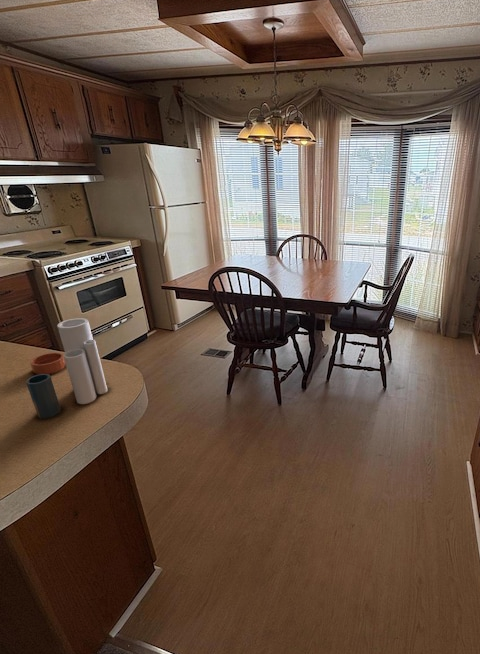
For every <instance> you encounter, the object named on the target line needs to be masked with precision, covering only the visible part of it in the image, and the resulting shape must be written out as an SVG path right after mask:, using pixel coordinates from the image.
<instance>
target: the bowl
mask: <svg viewBox="0 0 480 654" xmlns="http://www.w3.org/2000/svg"><path fill="white" fill-rule="evenodd" d="M63 355H64V353H61V352H48V353H43V354H41V355H38V356H36V357H34V358H32V359H31V360H30V361H29V363H30V367H31V369H32V373H35V375H39V374H49V375H51V374H55V373H57V372H59V371H62V370H63V369H64V368H65V366H66V363H65V360H64V356H63Z"/></svg>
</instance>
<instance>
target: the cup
mask: <svg viewBox="0 0 480 654" xmlns="http://www.w3.org/2000/svg"><path fill="white" fill-rule="evenodd" d="M25 383H26V386H27V389H28V390H27V391H28V392H29V395H30V398H31V401H32V403H33V406H34V409H35V412H36V414H37V415H36V416H37V417H38V418H39V419H47V418H48V419H49V418H51V417H54V416H56V415H58V414H59V413H60V412H61V406H60V405H61V404H60V403H59V399H58V395H57V393H56V390H55V387H54V383H53V380H52V377H51V374H39V375H38V374H35V375H33V376H31V377H28V378H27V379H26V381H25Z"/></svg>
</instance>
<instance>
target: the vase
mask: <svg viewBox="0 0 480 654" xmlns="http://www.w3.org/2000/svg"><path fill="white" fill-rule="evenodd" d="M56 327H57V329H58V334H59V336H60V340H61V343H62V347H63V350H64V353H63V356H64V360H65V363H66V364H65V366H66V370H67V373H68V377H69V379H70V380H69V381H70V384H71V386H72V390H73V393H74V397H75V400H76V402H77V404H79V405H86V404H90V403H92V402H94V401H95V400H96V399H97V395H103V394H106V393H107V392H108V387H107V386H108V385H107V381H106V379H105V373H104V370H103V366H102V363H101V362H102V361H101V358H100V355H99V351H98V350H99V349H98V346H97V342H96V340H95V339H94V338H93V334H92V331H91V326H90V322H89V319H87V318H83V317H79V318H78V317H77V318H70V319H66V320H63V321H60V322H59V323H58V324H57V326H56Z"/></svg>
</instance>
